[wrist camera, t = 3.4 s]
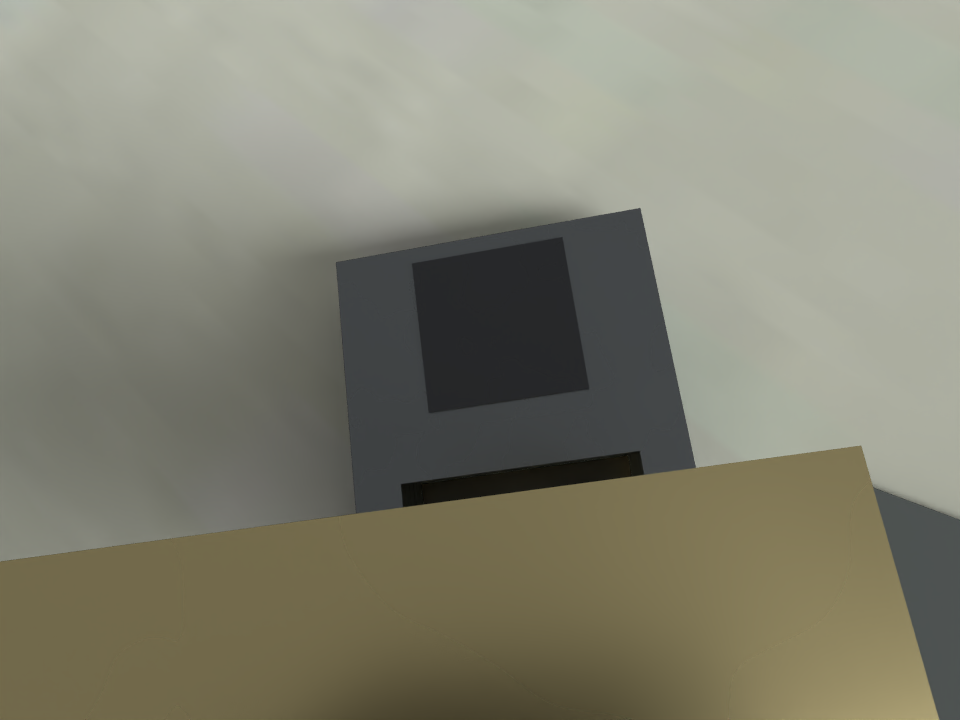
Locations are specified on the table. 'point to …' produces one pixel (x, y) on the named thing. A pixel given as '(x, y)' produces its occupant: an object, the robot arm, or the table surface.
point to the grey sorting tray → (507, 358)
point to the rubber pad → (929, 590)
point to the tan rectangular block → (491, 610)
